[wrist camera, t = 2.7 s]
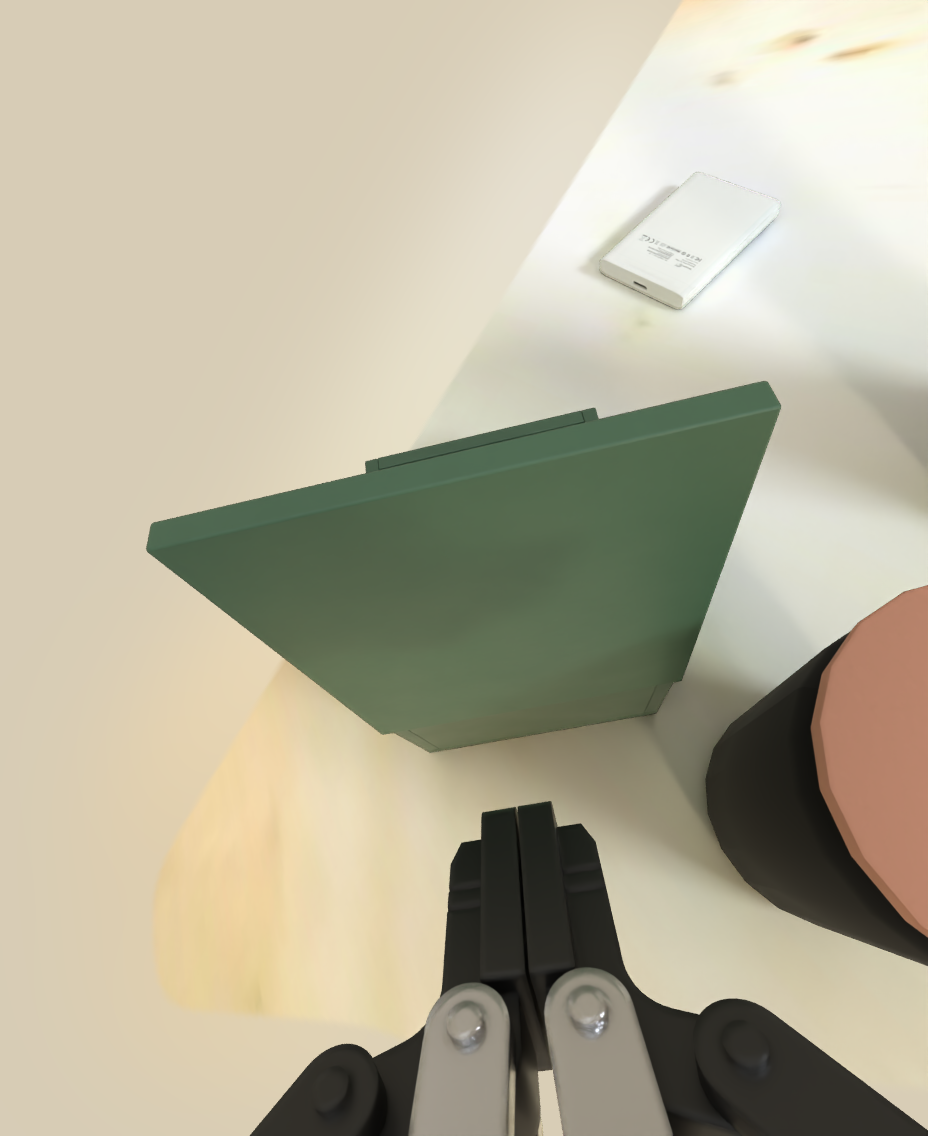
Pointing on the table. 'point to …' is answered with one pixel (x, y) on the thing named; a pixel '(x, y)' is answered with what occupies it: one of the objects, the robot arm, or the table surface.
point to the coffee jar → (838, 785)
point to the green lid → (492, 563)
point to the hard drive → (689, 239)
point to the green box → (537, 717)
